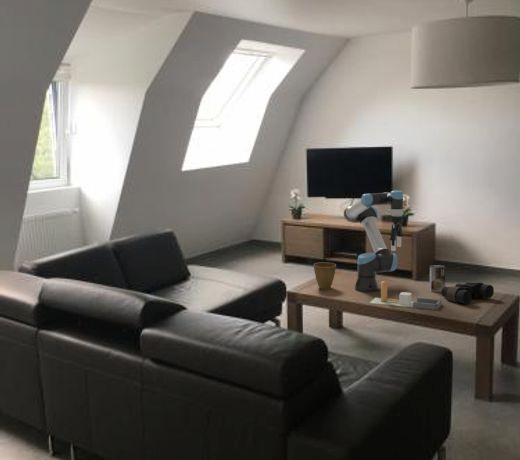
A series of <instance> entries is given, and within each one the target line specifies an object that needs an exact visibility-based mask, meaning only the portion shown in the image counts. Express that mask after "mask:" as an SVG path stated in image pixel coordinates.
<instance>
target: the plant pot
mask: <svg viewBox="0 0 520 460" xmlns="http://www.w3.org/2000/svg"><path fill="white" fill-rule="evenodd" d="M336 269H337V264H336V263H334V262H324V261H323V262H322V261H321V262H316V263H314V264H313V271H314V275H315V280H316V283H317V286H318V288H319V289H320V288H321V289H320V290H329V288H330V289H331V287H332V285H333V282H334V278H335V274H336Z"/></svg>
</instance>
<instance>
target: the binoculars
mask: <svg viewBox="0 0 520 460" xmlns="http://www.w3.org/2000/svg"><path fill="white" fill-rule="evenodd" d="M494 290H495V287H493V285H491V284H488V283H487V284H486V283H483V282H477V281H468V282H466V283H463V284H462V283H456V284H455V286H445V287H443V288H442V290H441V292H440V293H441V295H442V297H444V298H445V299H446V300H447V301H448V302H453V303H456V304H464V305H465V304H466V305H469V304H470V303H471V301H472V298H473V299H476V300H480V298H481V299H483V298H487V299H490V298H492V297H493V295H494V293H495V291H494Z"/></svg>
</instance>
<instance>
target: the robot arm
mask: <svg viewBox="0 0 520 460" xmlns="http://www.w3.org/2000/svg"><path fill="white" fill-rule="evenodd" d="M361 195H362V196H361V198H360V199H359V201H356V202H355V203H354V204H352V205H347V207H345V209H344V211H343V217H344V219H345V220H346V221H347V222H349V223H354V224H356V223H360V226H361V227H362V228H364V230H365V233H366V235H367V238H368V240H369V242H370V243H369V244H370V245H371V247H372V250H373V252H365V253H361V254H359V255H358V256H357V261H356V262H357V263H356V264H357V278H356V281H355V284H354V290H355V291H359V292H365V293H369V292H370V293H371V292H376V291H378V290H379V285H378V281H377V278H376V275H377V273H386V272H394V271H395V270H396V269H397V267H398V257H397V254H396V253H392V251H393V252H396V250H397V247H399V248H401V247H402V237H403V236H404V235H403V229H402V228H403V227H402V222H403V221H404V216H403V215H404V214H403V213H404V211H405V210H404V191H402V190H392V191H390V192H389V191H386V192H378V193H376V192H375V193H364V194H361ZM385 205H387V206H388V205H390V222H391V223H392V224H391V231H390V239H389V241H390V244H391V246H390V247H391V248H390V249H389V248H387V245H386V243H385V241H384V238H383V236H382V234H381V231H380V229H379V227H378V224H377V221H378V218H379V214H378V213H379V212H378V209H377V207H375V206H385Z"/></svg>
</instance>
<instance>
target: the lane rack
mask: <svg viewBox="0 0 520 460" xmlns="http://www.w3.org/2000/svg"><path fill="white" fill-rule="evenodd" d="M369 304H370V305H371V304H372V305H376V304H377V305H378V304H380V305H387V306H398V307H405V308H415V309H422V310H423V309H425V310H433V311H438V310H439V308H440V307H441V306H442V299H438V298H427V297H426V298H425V297H416V301H412V303H411V304H410V305H401V304H399V302H395V301H387V302H381V297H374V299H372V300H371V301H369Z"/></svg>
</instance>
